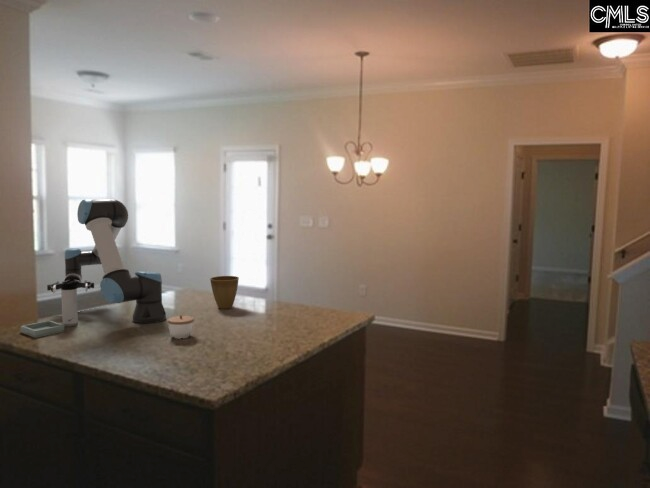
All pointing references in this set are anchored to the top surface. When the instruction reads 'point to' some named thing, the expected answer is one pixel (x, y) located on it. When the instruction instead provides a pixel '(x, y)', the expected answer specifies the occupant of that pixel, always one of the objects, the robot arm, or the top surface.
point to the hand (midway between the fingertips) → (70, 289)
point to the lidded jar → (180, 326)
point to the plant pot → (224, 290)
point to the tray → (42, 328)
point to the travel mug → (69, 304)
